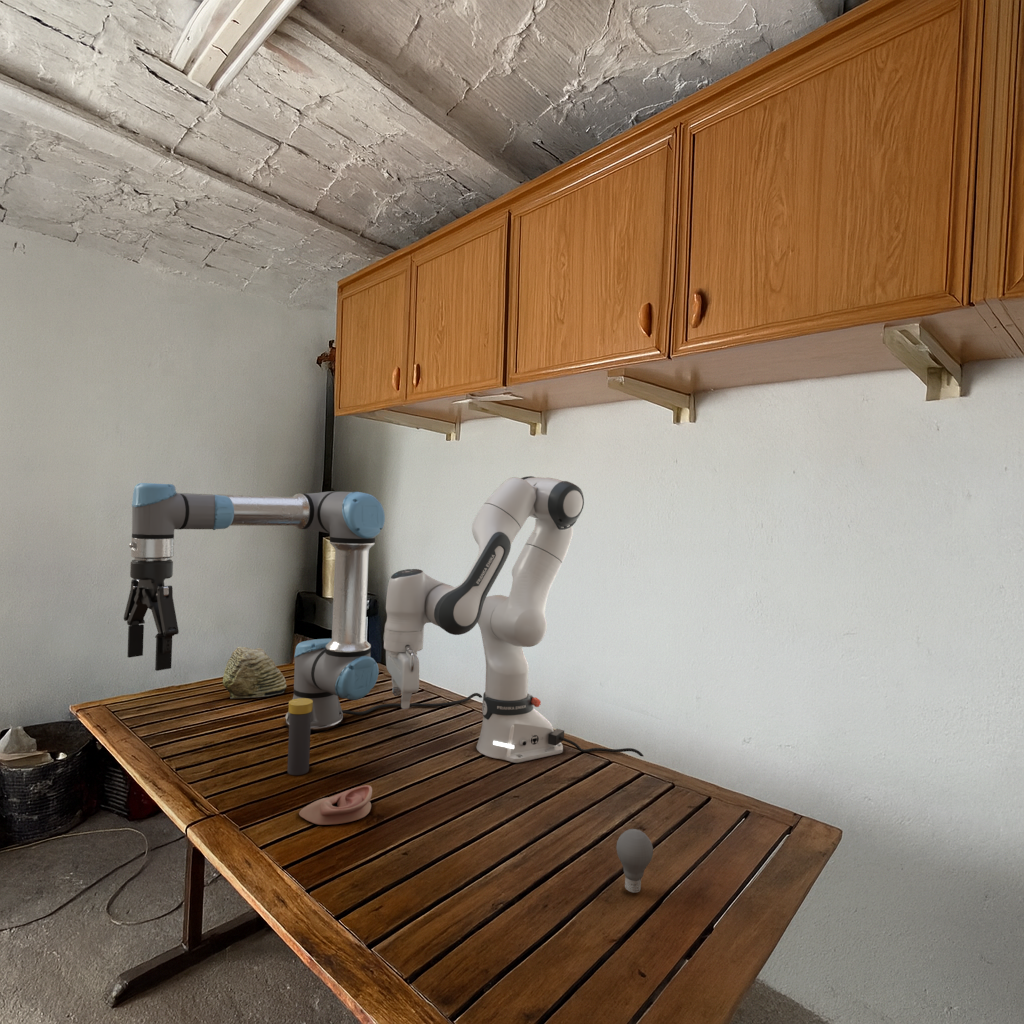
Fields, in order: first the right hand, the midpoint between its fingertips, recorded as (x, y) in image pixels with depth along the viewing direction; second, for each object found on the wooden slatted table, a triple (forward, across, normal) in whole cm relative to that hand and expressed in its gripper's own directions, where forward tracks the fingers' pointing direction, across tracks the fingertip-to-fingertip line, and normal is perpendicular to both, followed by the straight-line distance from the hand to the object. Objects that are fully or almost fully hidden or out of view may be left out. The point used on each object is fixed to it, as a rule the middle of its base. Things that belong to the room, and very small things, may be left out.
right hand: (400, 701), depth 144 cm
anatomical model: (+18, -13, +15) cm, 26 cm away
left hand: (-10, +4, +51) cm, 52 cm away
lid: (+2, +9, +21) cm, 23 cm away
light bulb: (+17, -53, -29) cm, 63 cm away
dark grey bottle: (+18, +9, +21) cm, 29 cm away
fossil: (+18, +70, +31) cm, 78 cm away
